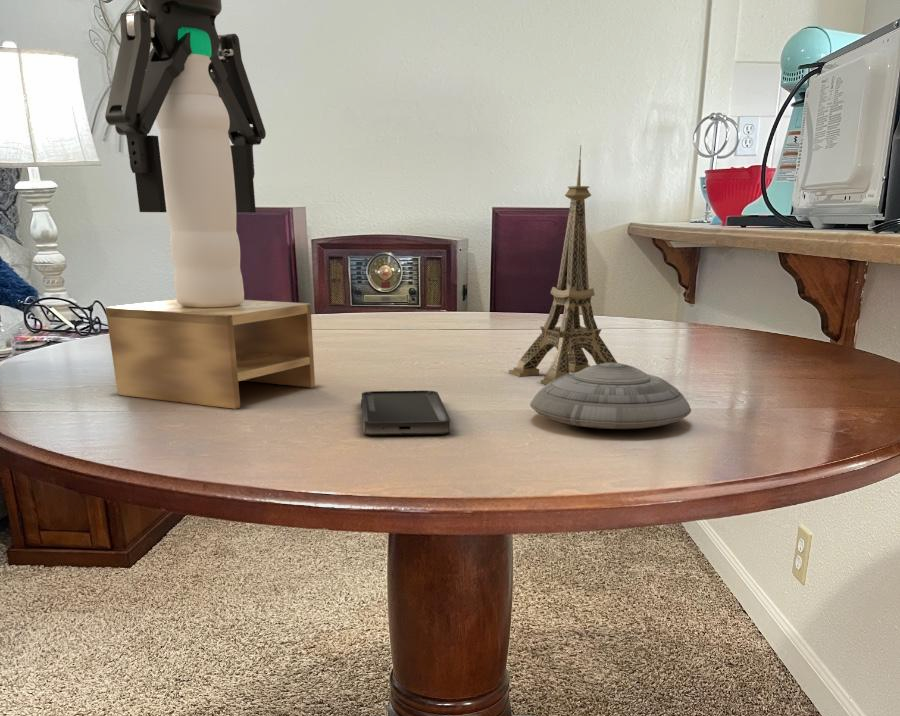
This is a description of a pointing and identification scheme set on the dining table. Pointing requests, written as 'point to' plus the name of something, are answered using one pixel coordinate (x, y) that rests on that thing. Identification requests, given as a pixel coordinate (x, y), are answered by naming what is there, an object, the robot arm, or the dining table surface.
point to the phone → (403, 413)
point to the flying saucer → (611, 399)
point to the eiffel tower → (569, 305)
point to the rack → (209, 349)
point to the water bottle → (200, 184)
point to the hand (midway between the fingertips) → (201, 212)
